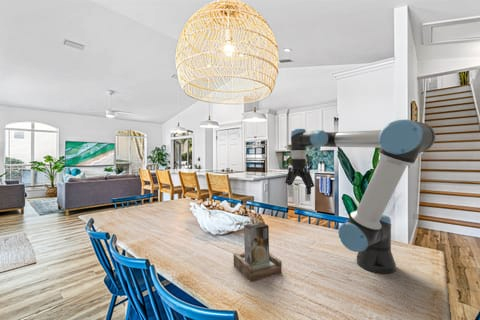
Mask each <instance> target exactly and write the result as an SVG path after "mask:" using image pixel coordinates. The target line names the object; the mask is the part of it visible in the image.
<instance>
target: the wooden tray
mask: <svg viewBox="0 0 480 320" xmlns="http://www.w3.org/2000/svg"><path fill="white" fill-rule="evenodd" d="M282 265H283V264H282V260H281V259H279V258H278V257H276V256H275V255H274V254H272V253H270V252H269V262H266V263H263V264H259V265H255V266H251V265H249V264H248V263H247V262H246V261H245V252H241V253H237V252H236V253H233V266H234V267H235V268H236V269H237V270H238V271H239V272H240V273H241V274H242V275H243V276H244V278H246V280H247V281H249V282H250V283H252V282H255V281H258V280H262V279H267V278H269V277H270V278H271V277H273V276H277V275H280V274H283V273H282V272H283V271H282V270H283V269H282V268H283V267H282Z"/></svg>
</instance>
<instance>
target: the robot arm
mask: <svg viewBox="0 0 480 320" xmlns="http://www.w3.org/2000/svg"><path fill="white" fill-rule="evenodd" d="M435 140H436V133H435V130H434V129H433V127H431V125H428V124H427V123H425V122H420V121H415V120H413V119H396V120H394V121H392V122H389V123H388V124H386V125H385V126H384V127H383V128H382V129H380V130H379V129H377V130H374V129H373V130H358V131H357V130H354V131H336V132H335V131H334V132H331V131H329V132H328V131H327V132H326V131H325V130H324V129H323V130H317V129H316V130H312V131H306V129H305V128H294V129H292V130H291V132H290V148H291V149H290V158H291V161H290V165H291V166H290V167H288V172H287V175H286V178H285V183H284V184H286V185H287V194H288V198H293V197H294V184H293V183H294V182H295V180H296V178H297V177H299V178H301V181H302V182H303V183H304V186H305V188H304V201H305V202H309V201H310V202H311V194H312V192H311V191H312V188H314V187H315V183H314V180H313V178H312V176H311V173H310V168H309V167H305V166H307V159H306V157H307V155H306V153H307V148H310V147H315V148H316V147H321V148H322V147H326V148H376V149H377V148H379V149H378V151H377V152H378V154H379V156H380V158H379V160H378V162H377V165H376V167H375V169H374V171H373V174H371V175H372V176H371V179H370V180H369V183H368V185H367V187H366V189H365V190H364V193H363V196H362V197H361V200H360V201H359V205H358V206H357V208H356V210H354V211H353V210H352V211H350V214H349V216H348V219H347V221H346V222H343V223H342V224H341V225H340V226H339V228H338V231H337V232H338V238H339V239H340V242H341V244H342V245H343V246H344V247H345V248H346V249H348V250H349V251H351V252H356V253H357V255H356V264H357V265H358V266H359V267H361V268H362V269H364V270H366V271H369V272H371V273H372V272H374V273H376V274H377V273H378V274H393V273H394V272H396V270H397V263H396V261H395V258H394V255H393V253H392V223H391V221H392V220H391V218H390V216H388V215H385V214H384V212H385V210H386V209H387V206H388V204H389V202H390V201H391V199H392V197H393V195H394V193H395V191H396V189H397V187H398V185H399V182H400V180H401V178H402V176H403V175H404V172H405V171H406V168H407V167H408V166H411V165H414V163H415V162H416V160H417V158H418V156H419V154H420V153H421V154H422V153H424V152H426V151H428V150H429V149H430V148H432V146H433V145H434V143H435Z"/></svg>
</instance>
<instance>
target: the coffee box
mask: <svg viewBox="0 0 480 320" xmlns="http://www.w3.org/2000/svg"><path fill="white" fill-rule="evenodd" d="M269 231H270V230H269V224H266V223H264V222H254V223H249V224H244V225H243V235H244V236H243V238H244V242H243V243H244V253H245V261H246V262H247V263H248V264H249V265H251V266H255V265H259V264H263V263H266V262H269V253H270V238H269V237H270V234H269Z"/></svg>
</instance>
